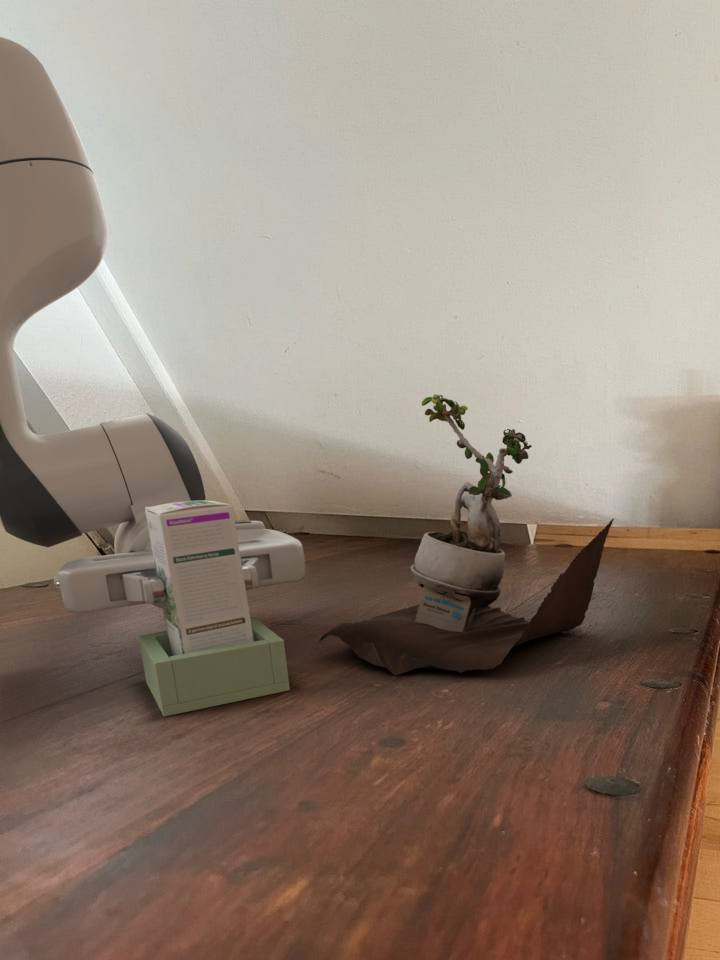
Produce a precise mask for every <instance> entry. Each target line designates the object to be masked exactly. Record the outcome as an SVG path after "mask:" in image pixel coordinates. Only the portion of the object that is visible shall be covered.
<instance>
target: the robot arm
mask: <svg viewBox="0 0 720 960" xmlns="http://www.w3.org/2000/svg"><path fill="white" fill-rule="evenodd" d="M109 240H110V230H109V225H108V219H107V214H106V210H105V206H104V202H103V199H102V195H101V192H100V188H99V185H98V182H97V179H96V176H95V174H94V169H93V168H92V165H91V162H90V159H89V156H88V154H87V151H86V149H85V146H84V144H83V142H82V139H81V136H80V134H79V132H78V129H77V127H76V125H75V123H74V120H73V119H72V116H71V114H70V111H69V110H68V108H67V105H66V104H65V102H64V100H63V98H62V96H61V94H60V92H59V90H58V88H57V87H56V84H55V83H54V81H53V79H52V77H51V75H50V73H49V71H48V70H47V68H46V67H45V65H44V64H43V62H42V61H41V60H40V59H39V58H38V57H37V56H36V55H35V54H34V53H33V52H32V51H30V50H29V49H28V48H27V47H25V46H24V45H22V44H20V43H18V42H16V41H14V40H12V39H10V38H7V37H4V36H0V525H1V526H2V528H4V529H3V530H4V531H5V532H6V533H7V534H9V535H11V536H13V537H15V538H17V539H19V540H22V541H24V542H27V543H30V544H33V545H36V546H40V547H45V548H51V547H53V546H56V545H59V544H62V543H64V542H68V541H70V540H74V539H77V538H79V537H81V536H83V534H87V533H90V532H94V531H97V530H98V531H99V530H101V529H105V528H109V527H113V526H116V525H118V527H117V530H116V532H115V536H114V543H113V549H114V554H113V553H112V554H104V555H97V556H96V555H95V556H88V557H83V558H77V559H72V560H69V561H66V562H64V563H63V564H62V565H61V566H60V567H59V569H58V571H57V574H56V575H54V577H53V578H54V579H53V584H54V586H55V588H57V589H60V595H61V598H62V603H63V607H64V610H65V612H67V613H70V614H71V613H72V614H83V613H91V612H97V611H103V610H111V609H117V608H125V607H131V606H139V605H145V604H147V605H150V604H151V605H152V606H154V607H157V608H159V609H162V610H163V607H162V602H164V601H167V597H166V593H165V592H164V589H165V584H164V581H163V579H161V577H157V574H156V569H155V563H154V558H153V552H152V547H151V541H150V535H149V529H148V523H147V517H146V513H145V507H152V506H157V505H162V504H167V503H173V502H181V501H193V500H206V492H205V491H206V490H205V486H204V483H203V478H202V475H201V472H200V469H199V466H198V464H197V461H196V459H195V457H194V454H193V452H192V450H191V448H190V446H189V445H188V443H187V441H186V439H185V438H184V437H183V436H182V435H181V434H180V433H179V432H178V431H177V430H176V429H175V428H173V427H172V426H171V425H170V424H169V423H167V422H165V421H164V420H163V419H161V418H159V417H157V416H155V415H152V414H150V413H145V414H138V415H133V416H128V417H124V418H118V419H113V420H109V421H103V422H100V423H98V424H94V425H88V426H83V427H79V428H74V429H69V430H64V431H60V432H55V433H51V434H50V433H49V434H37V433H35V432H33V431H32V430H31V429H30V427H29V425H28V420H27V415H26V410H25V405H24V400H23V395H22V390H21V384H20V379H19V374H18V368H17V363H16V359H15V351H14V345H15V339H16V337H17V335H18V333H19V331H20V330H21V328H22V327H23V326H24V324H25V323H27V322H28V321H29V320H30V319H31V318H32V317H33V316H35V315H36V314H37V313H39V312H40V311H41V310H44V309H45V308H47V307H48V306H50V305H51V304H53V303H55V302H56V301H59V300H60V299H62V298H63V297H65V296H67V295H68V294H71V292H73V291H75V290H76V289H77V288H79V287H80V286H81V285H82V284H84V283H85V282H86V281H88V279H89V278H90V277H92V275H93V274H95V272H96V270H98V268H99V267H100V266H101V263H102V261H103V260H104V258H105V255H106V252H107V250H108V246H109ZM235 525H236V532H237V539H238V545H239V551H240V557H241V563H242V569H243V576H244V582H245V588H246V591H247V590H252V589H258V588H261V587H268V586H275V585H282V584H289V583H298V582H301V581H303V580H304V579H305V578H306V572H307V571H306V570H307V569H306V559H305V551H304V547H303V544H302V542H301V541H300V540H299V539H297V538H296V537H294V536H292V535H289V534H287V533H284V532H282V531H280V530H276V529H269V528H266V527H265V524H264V522H263V521H260V520H248V519H246V520H245V519H243V520H242V519H241V520H235Z"/></svg>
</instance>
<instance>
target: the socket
mask: <svg viewBox="0 0 720 960" xmlns="http://www.w3.org/2000/svg"><path fill="white" fill-rule="evenodd" d="M250 620H251V627H252V634H253V640H254V642H249V643H244V644H238V645H232V646H227V647H221V648H215V649H210V650H204V651H198V652H193V653H187V654H181V655H175V656H171V650H170V645H169V640H168V634H167V630H164V631H158V632H153V633H146V634H140V635H138V636H137V638H138V642H139V649H140V654H141V659H142V666H143V671H144V677H145V683H146V685H147V687H148V688H149V691H150V693H151V695H152V697H153V698H154V700H155V702H156V705H157V707H158V709H159V711H160V712H161V714H162V716H163V717H169V716H175V715H179V714H184V713H189V712H193V711H197V710H202V709H207V708H212V707H217V706H221V705H222V706H223V705H226V704H231V703H235V702H241V701H245V700H251V699H254V698H259V697H265V696H269V695H273V694H274V695H275V694H279V693H283V692H289V691H291V687H290V681H289V671H288V664H287V654H286V647H285V645H286V644H285V640H284V639H283V638H282V637H280V636H279V635H278V634H277V633H275V632H274V631H272V630H271V629H270V628H268V627H267V626H266V625H264V624H263V623H262V622H260V621H259V620H258V619H256V618H255V617H254V616H250Z"/></svg>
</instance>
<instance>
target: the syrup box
mask: <svg viewBox="0 0 720 960" xmlns="http://www.w3.org/2000/svg"><path fill="white" fill-rule="evenodd" d="M145 513H146V517H147V523H148V529H149V535H150V541H151V547H152V552H153V558H154V563H155V569H156V574H157V577H161V579H163V581H164V584H165V589H164V592H165V593H166V597H167V601H164V602H162V607H163V609H162V611H163V618H164V623H165V628H166V631H167V634H168V640H169V645H170V650H171V656H175V655H181V654H187V653H193V652H198V651H204V650H210V649H215V648H221V647H227V646H232V645H238V644H244V643H249V642H254V640H253V634H252V627H251V620H250V617H251V615H250V607H249V602H248V601H249V600H248V596H247V590H246V588H245V582H244V576H243V569H242V563H241V557H240V551H239V545H238V539H237V532H236V525H235V521H236V520H235V519H236V518H235V513H234V507H233V504H231V503H227V502H221V501H217V500H212V499H205V500H193V501H181V502H173V503H167V504H162V505H157V506H152V507H145Z"/></svg>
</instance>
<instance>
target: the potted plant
mask: <svg viewBox="0 0 720 960" xmlns="http://www.w3.org/2000/svg"><path fill="white" fill-rule="evenodd" d="M430 402H431V403H432V404H433V406H432V407H433V408H432V409H431V408H426V410H425V411H424V416H426V417H427V416H429V418H428V419H429V421H428V422H429V423H431V422H433V421H434V420H438V421H441V422H446V423H447V424H449V426H450V427H451V429H452V430H453V432H454V433H455V434H456V435H457V437H458V438H459V439H458V440H457V441H456V446H457V447H458V448H459V449H465V450H464V456H465V459H467V460H469V459H471V458H472V457H473V456H474V458H475V462H476V463H478V464H479V466H480V467H479V474H480V475H481V478H480V479H479V481H478V482H477V486H476V485H474V484H473V483H471V482H469V481H465V482H464V483H463V484H462V485H461V487H460V488H459V490H458V492H457V494H456V498H455V502H454V503H455V505H454V511H453V513H452V514H451V516H450V525H451V528H452V531H450V532H440V531H428V532H427V531H426V532H425V533H424V534H423V537H422V539H421V541H420V544H419V546H418V550H417V552H416V553H415V557H414V564H412V565H411V566H410V571H411V573H412V574H413V577H414V579H415V583H416V584H417V585H418V586H419V587H421V588H422V593H421V597H420V600H419V603H418V604H416V605H411V606H407V607H405V608H401V609H397V610H393V611H390V612H388V613H384V614H380V615H377V616H376V615H375V616H372V617H371V618H368V619H363V620H358V621H354V622H341V623H340V624H338V625H337V626H335V627H333V628H332V629H330V630H328V631H327V632H325V633H323V634H322V636H321V637H320V639H319V640H318V641H317V644H316V645H315V647H317V646H318V644H319V643H320V642H322V641H323V640H324V639H326V638H327V637H329V636H334V637H337V638H339V639H340V640H341V641H343V642H344V643H345V644H346V645H347V646H348V647H349V648H350V649H351V650H352V651H353V653H354V654H356V655H357V657H358V658H360V659H362V660H364V661H365V662H368V663H370V664H372V665H374V666H377V667H381V668H382V667H383V668H385V669H387V670H388V671H389V672H390V673H391V674H392V675H394V676H398V675H402V674H405V673H407V672H411V671H413V670H416V669H442V670H445V671H453V672H458V673H460V674H462V673H464V672H466V671H474V670H475V671H476V670H482V671H483V670H491V669H495V668H496V666H500V665H502V663H503V662H504V659H505V658H506V657H507V655H509V653H510V651H511V650H512V648H514V647H516V646H518V645H520V644H524V643H527V642H530V641H532V640H535V639H536V640H537V639H538V638H542V637H545V636H550V635H554V634H559V633H565V632H566V633H567V632H570V631H572V630H574V629H576V628H577V627H579V626H582V624H583V623H584V621H585V618H586V613H587V611H588V610H589V606H590V603H591V600H592V596H593V592H594V586H595V580H596V578H597V575H598V572H599V568H600V564H601V559H602V557H603V556H602V555H603V551H604V548H605V543H606V540H607V537H608V535H609V533H610V529H611V527H612V525H613V521H614V520H615V518H612V519H611V520H610V521H609V522H608V524H606V525H605V527H604V528H602V530H600V531H599V532H598V533H597V535H596V536H595V537H594V538H592V540H590V542H588V544H586V545H585V546H584V547H583V548H581V550H580V552H578V553H577V555H575V557H574V558H573V559H572V561H570V563H569V565H568V566H567V567H566V569H565V571H564V572H562V573H560V574H559V576H558V578H557V579H556V581H554V582H553V585H552V586H550V592H547V595H546V596H545V597H543V601H542V602H541V604H540V605H539V606H538V608H537V611H536V613H535V614H534V616H532V617H531V619H530V621H527V620H526V619H525V617H524V616H523V617H522V616H521V617H517V616H513V615H512V614H511V613H505V612H504V611H502V608H501V607H499V606H498V607H492V606H490V605H491V604H493V603H495V602H496V601H497V600H498V598H499V597H500V595H501V592H502V589H501V587H500V586H499V585H500V584H501V582H502V579H503V577H504V572H505V559H506V553H505V551H503V549H501V548H499V547H500V546H501V542H502V533H503V532H502V526H501V525H502V524H501V522H500V519H499V517H498V514H497V511H496V509H495V507H494V506H493V505H492V503H493V500H496V501H503V500H507V499H510V498H511V497H513V494H512V492H511V491H510V490H509V489H507V488H505V487H506V483H507V481H506V475H505V474H508V475H509V474H510V475H511V474H512V473H513V472H514V470H513V469H510V467H509V466H506V465H505V457H507V456H509V457H510V456H511V460H514V462H515V463H516V464H517V465H520V464H522V461H523V460H528V459H529V453H528V451H526V450H530V449H531V448H532V447H533V445H532V444H529V443H528V441H527V437H526V435H525V434H524V433H522V432H520V431H519V432H516V430H515V429H514V428H512V429H510V428H506V429H504V430H503V437H502V444H504V445H505V446H506V447H505V448H504V447H503V448H502V447H501V448H499V450H498V453H497V458H496V461H495V458H494V455H493V454H492V453H491V452H487V454H486V456H485V455H483V454H482V453H480V452H479V451H478V450H477V449H476V448H475V447H474V446H472V444H471V443H470V441H469V440H468V439H467V438H466V437H465V436H464V434H463V433H462V432H461V431H460V430H462V431H464V430H465V426H466V423H465V422H464V421H463V419H462V416H465V414H466V411H468V408H469V407H468V406H466V405H461V406H460V405H459V403H458V401H454V400H452V399H448V398H447V397H444V395H442V394H436V393H434V394H433V395H432V396H428V397H427V396H426V397H425V398H423V399H422V401H421V406H423V407H424V406H426V405H428V404H429V403H430ZM447 406H448V407H449V408H450V410H447ZM459 429H460V430H459ZM506 431H507V432H506ZM521 443H522V444H523V447H522V445H521ZM494 461H495V464H494ZM503 472H504V473H503ZM501 480H502V485H500V484H501ZM466 492H467V493H468V495H467V494H465V495H464V493H466ZM462 508H464V509H466V510H467V512H468V517H467V531H466V530H463V529H461V526H462V525H461V524H462Z"/></svg>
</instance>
